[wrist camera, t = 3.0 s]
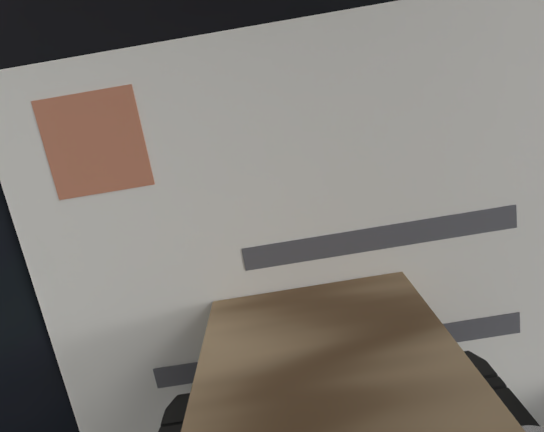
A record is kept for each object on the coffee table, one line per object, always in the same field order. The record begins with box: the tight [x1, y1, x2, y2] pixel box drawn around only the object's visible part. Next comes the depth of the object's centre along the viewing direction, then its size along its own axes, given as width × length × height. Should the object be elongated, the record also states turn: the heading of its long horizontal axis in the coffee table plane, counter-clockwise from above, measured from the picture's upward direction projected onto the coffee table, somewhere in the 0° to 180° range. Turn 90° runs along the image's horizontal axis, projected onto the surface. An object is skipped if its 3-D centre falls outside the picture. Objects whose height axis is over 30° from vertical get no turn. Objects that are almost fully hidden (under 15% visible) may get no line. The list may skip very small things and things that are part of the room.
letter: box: [0, 0, 544, 432], centre depth 13 cm, size 14×18×1 cm
